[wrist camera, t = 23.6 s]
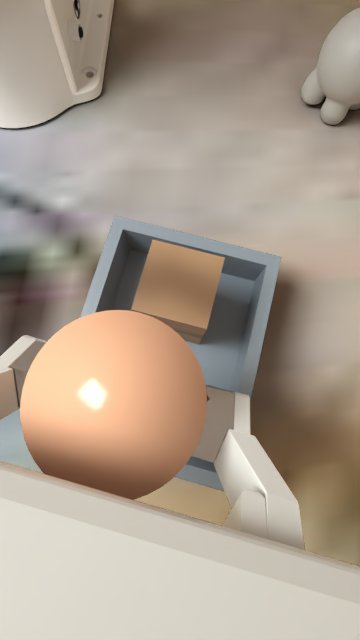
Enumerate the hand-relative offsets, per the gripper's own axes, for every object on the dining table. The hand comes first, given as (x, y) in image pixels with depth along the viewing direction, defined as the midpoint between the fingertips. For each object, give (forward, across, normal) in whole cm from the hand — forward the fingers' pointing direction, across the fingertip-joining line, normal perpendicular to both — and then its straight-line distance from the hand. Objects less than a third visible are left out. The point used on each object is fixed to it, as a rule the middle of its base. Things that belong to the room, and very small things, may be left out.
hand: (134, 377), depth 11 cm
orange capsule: (+3, 0, +4) cm, 5 cm away
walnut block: (+16, 0, +7) cm, 17 cm away
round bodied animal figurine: (+35, -12, -10) cm, 38 cm away
